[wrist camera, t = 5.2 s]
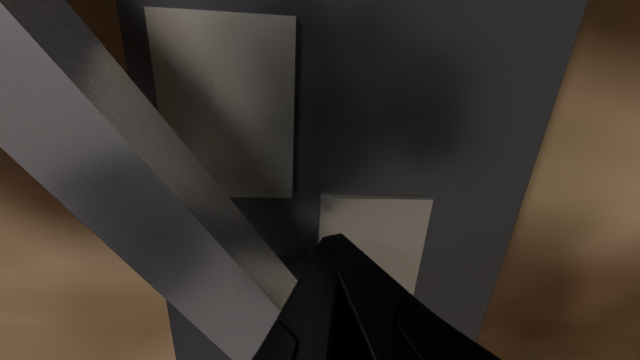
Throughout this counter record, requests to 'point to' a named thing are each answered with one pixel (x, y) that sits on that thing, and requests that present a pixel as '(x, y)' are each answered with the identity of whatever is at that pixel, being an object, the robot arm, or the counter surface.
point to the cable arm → (132, 176)
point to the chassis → (362, 126)
